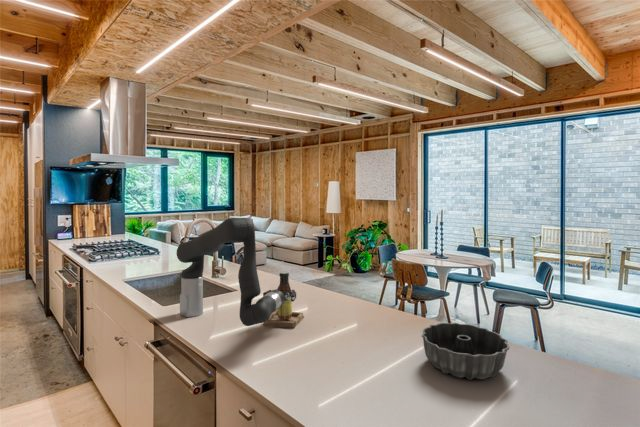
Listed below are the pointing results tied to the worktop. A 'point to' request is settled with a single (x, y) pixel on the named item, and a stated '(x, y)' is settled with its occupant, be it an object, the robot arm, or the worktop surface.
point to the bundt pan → (465, 350)
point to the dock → (284, 320)
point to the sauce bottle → (286, 308)
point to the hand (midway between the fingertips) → (286, 291)
